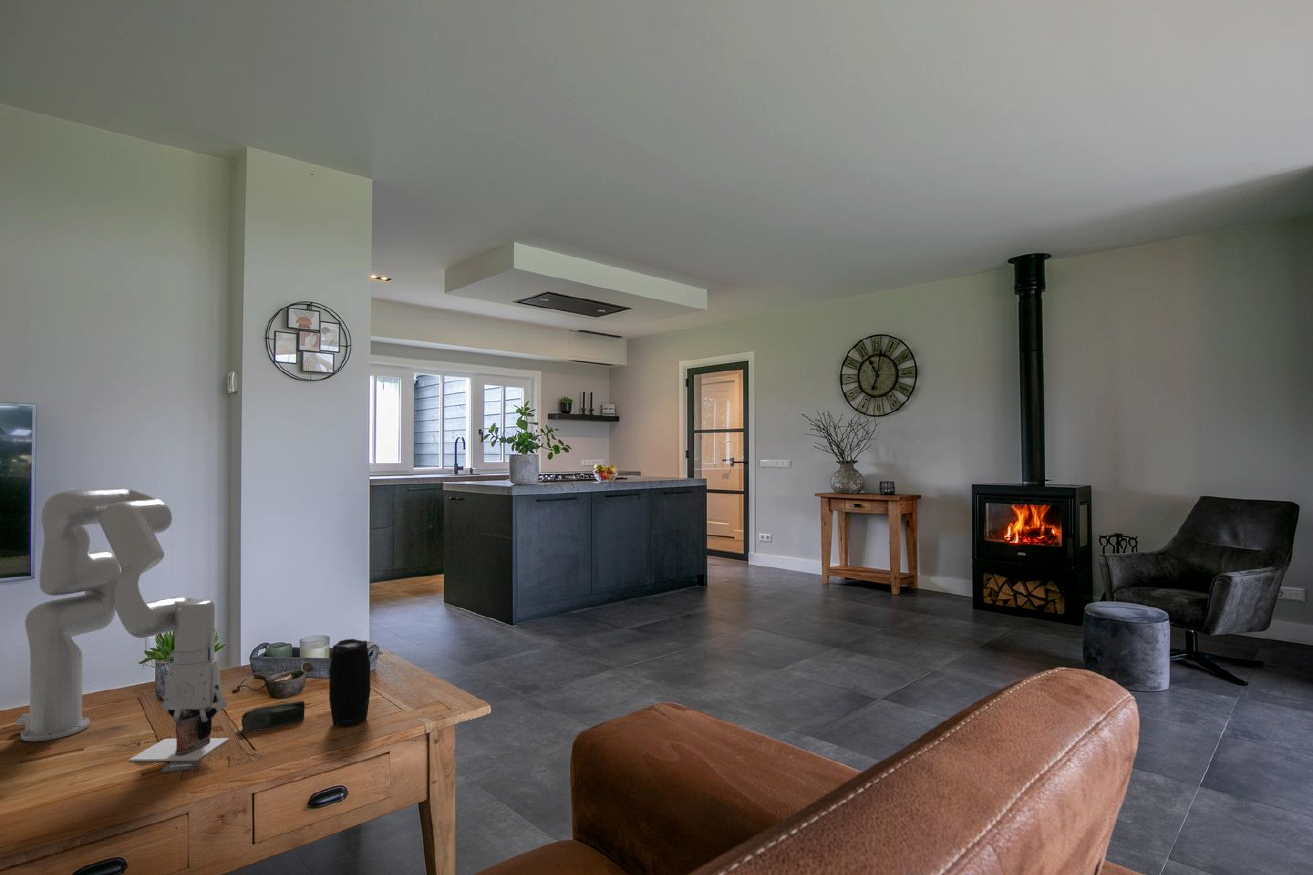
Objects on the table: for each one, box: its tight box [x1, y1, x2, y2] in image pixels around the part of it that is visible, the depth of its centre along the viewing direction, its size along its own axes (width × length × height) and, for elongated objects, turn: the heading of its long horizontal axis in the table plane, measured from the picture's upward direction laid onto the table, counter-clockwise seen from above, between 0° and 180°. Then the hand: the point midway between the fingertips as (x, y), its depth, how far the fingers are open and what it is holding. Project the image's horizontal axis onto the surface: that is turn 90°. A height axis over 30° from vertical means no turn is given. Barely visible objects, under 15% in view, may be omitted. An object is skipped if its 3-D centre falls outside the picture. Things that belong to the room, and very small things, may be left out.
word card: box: [159, 760, 202, 774], centre depth 147 cm, size 6×4×1 cm, turn 100°
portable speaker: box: [328, 638, 371, 729], centre depth 171 cm, size 9×9×20 cm
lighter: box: [175, 709, 211, 756], centre depth 155 cm, size 8×3×10 cm, turn 170°
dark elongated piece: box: [235, 700, 305, 735], centre depth 169 cm, size 5×3×15 cm
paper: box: [128, 737, 230, 762], centre depth 155 cm, size 15×11×1 cm
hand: (193, 736), depth 155 cm, fingers open, 4 cm apart
